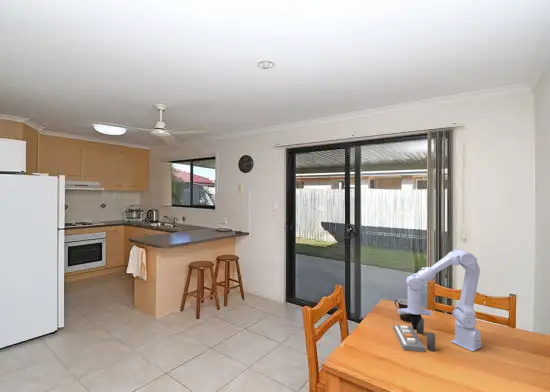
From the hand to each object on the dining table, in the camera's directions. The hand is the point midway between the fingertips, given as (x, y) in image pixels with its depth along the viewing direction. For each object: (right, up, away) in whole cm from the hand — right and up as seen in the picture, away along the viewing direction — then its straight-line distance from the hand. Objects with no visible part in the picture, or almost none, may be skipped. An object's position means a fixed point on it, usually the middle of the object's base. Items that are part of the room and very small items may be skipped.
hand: (414, 329), depth 134 cm
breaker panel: (-3, -5, +1) cm, 6 cm away
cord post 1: (+6, -5, +6) cm, 10 cm away
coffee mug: (+6, -5, +23) cm, 24 cm away
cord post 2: (+3, -5, -8) cm, 10 cm away
